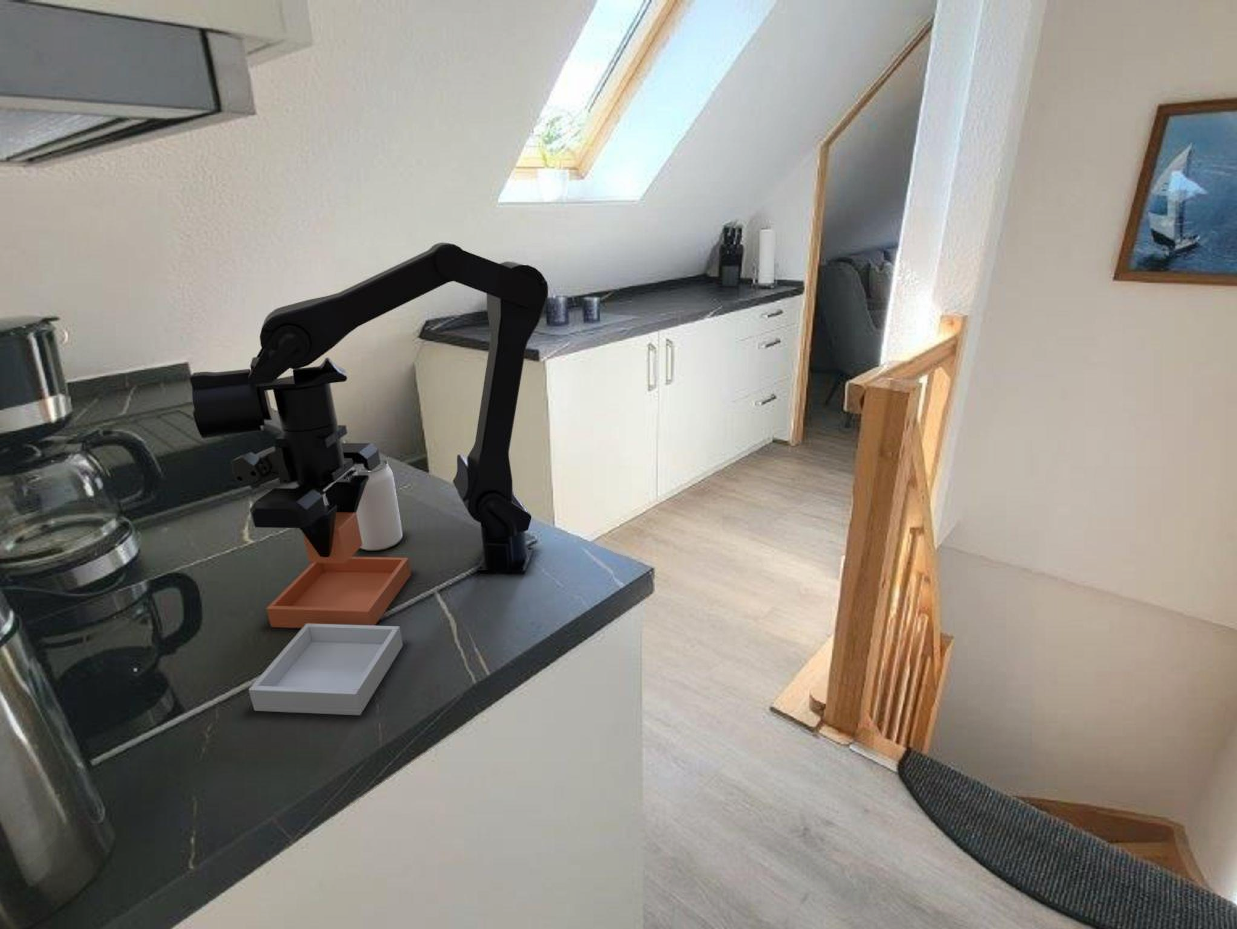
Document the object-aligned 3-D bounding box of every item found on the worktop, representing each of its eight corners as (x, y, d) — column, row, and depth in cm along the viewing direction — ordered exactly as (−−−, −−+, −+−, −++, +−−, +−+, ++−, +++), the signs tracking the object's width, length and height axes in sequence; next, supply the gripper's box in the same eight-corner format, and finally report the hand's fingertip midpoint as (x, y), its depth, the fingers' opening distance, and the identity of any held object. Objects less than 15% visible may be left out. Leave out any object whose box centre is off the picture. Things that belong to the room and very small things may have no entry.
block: (327, 544, 81) (320, 511, 79) (362, 544, 81) (356, 512, 79) (309, 562, 77) (301, 528, 75) (345, 563, 77) (338, 529, 75)
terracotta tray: (322, 572, 87) (319, 555, 86) (411, 574, 86) (408, 557, 85) (270, 627, 76) (266, 608, 75) (371, 630, 75) (368, 611, 74)
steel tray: (310, 642, 73) (306, 623, 72) (403, 645, 72) (399, 626, 71) (254, 711, 63) (248, 689, 62) (360, 715, 62) (355, 694, 61)
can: (408, 530, 98) (396, 456, 94) (396, 551, 92) (383, 473, 88) (365, 531, 98) (351, 457, 94) (350, 553, 92) (334, 474, 88)
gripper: (286, 400, 82) (311, 511, 88) (183, 452, 65) (222, 587, 71) (372, 400, 81) (391, 512, 87) (290, 453, 64) (321, 589, 70)
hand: (335, 546), depth 78 cm, fingers closed on block, 4 cm apart
